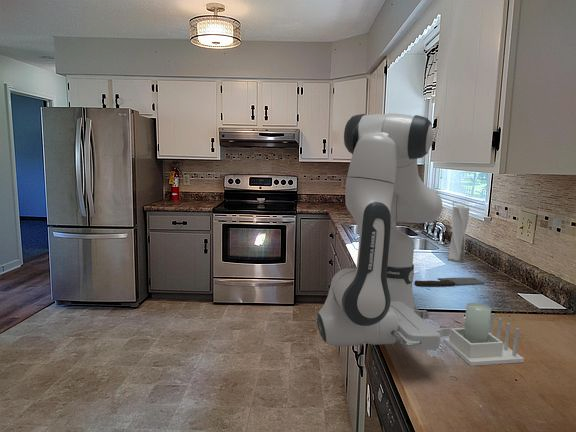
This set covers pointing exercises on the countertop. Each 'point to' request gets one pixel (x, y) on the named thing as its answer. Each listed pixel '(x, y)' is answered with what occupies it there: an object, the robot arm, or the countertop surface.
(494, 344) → the dish rack
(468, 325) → the sage green cylinder
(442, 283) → the cleaver
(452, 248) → the skyscraper
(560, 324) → the countertop surface
